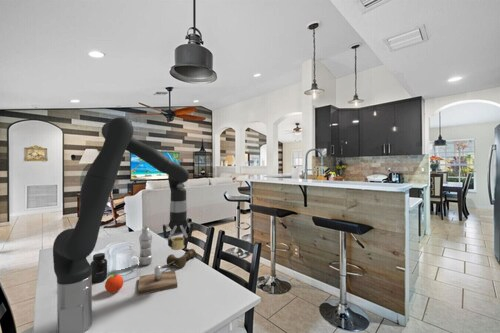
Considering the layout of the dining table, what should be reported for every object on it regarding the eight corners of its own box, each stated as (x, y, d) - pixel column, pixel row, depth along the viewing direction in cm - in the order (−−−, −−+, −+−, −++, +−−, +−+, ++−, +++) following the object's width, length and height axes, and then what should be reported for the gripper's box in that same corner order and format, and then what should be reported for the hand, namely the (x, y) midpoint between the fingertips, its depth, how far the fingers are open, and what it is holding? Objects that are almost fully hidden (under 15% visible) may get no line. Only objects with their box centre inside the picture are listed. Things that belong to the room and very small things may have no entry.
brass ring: (185, 249, 106) (185, 240, 106) (171, 250, 104) (171, 241, 104) (183, 244, 112) (184, 236, 112) (170, 246, 110) (170, 237, 110)
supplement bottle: (98, 284, 106) (98, 258, 105) (86, 282, 107) (86, 257, 107) (110, 276, 112) (110, 252, 112) (98, 275, 114) (98, 251, 113)
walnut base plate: (177, 287, 103) (177, 283, 103) (137, 294, 97) (137, 291, 97) (174, 273, 116) (174, 270, 116) (139, 279, 110) (139, 276, 110)
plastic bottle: (139, 262, 128) (139, 227, 128) (152, 260, 131) (152, 225, 130) (138, 267, 122) (138, 230, 122) (152, 265, 125) (151, 228, 124)
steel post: (161, 280, 106) (161, 266, 106) (154, 282, 105) (154, 267, 105) (161, 277, 109) (161, 264, 108) (154, 278, 107) (154, 265, 107)
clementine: (98, 295, 97) (98, 278, 97) (110, 286, 104) (110, 270, 104) (115, 296, 96) (115, 279, 96) (127, 287, 103) (126, 271, 102)
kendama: (199, 259, 135) (174, 272, 117) (186, 256, 139) (160, 269, 121) (199, 248, 135) (174, 260, 117) (186, 246, 139) (160, 257, 121)
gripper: (162, 212, 102) (161, 250, 102) (195, 210, 107) (194, 246, 107) (161, 209, 109) (161, 245, 109) (192, 208, 114) (192, 241, 114)
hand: (177, 245), depth 108 cm, fingers closed on brass ring, 6 cm apart
